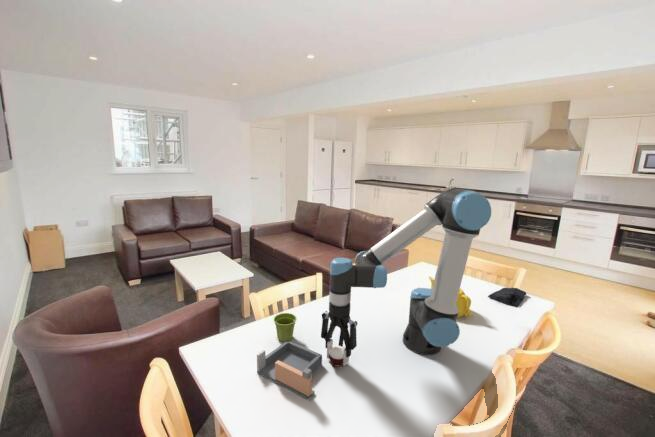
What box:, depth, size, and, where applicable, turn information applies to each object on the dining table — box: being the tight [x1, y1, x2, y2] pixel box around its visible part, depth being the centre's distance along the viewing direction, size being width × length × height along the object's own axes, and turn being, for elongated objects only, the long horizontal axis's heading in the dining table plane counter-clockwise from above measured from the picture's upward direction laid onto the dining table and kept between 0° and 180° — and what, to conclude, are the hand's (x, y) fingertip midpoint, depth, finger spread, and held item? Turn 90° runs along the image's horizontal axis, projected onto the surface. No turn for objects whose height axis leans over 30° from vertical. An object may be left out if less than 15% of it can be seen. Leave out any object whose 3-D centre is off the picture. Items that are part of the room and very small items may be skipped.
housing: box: [256, 340, 323, 401], centre depth 108 cm, size 22×16×7 cm
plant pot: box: [273, 312, 298, 343], centre depth 128 cm, size 9×9×9 cm
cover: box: [275, 360, 313, 397], centre depth 100 cm, size 14×2×8 cm, turn 57°
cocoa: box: [328, 330, 345, 367], centre depth 114 cm, size 10×6×12 cm, turn 133°
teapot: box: [428, 276, 472, 319], centre depth 156 cm, size 25×18×14 cm
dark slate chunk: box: [487, 287, 527, 308], centre depth 173 cm, size 15×22×5 cm
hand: (337, 359), depth 115 cm, fingers closed on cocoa, 6 cm apart
